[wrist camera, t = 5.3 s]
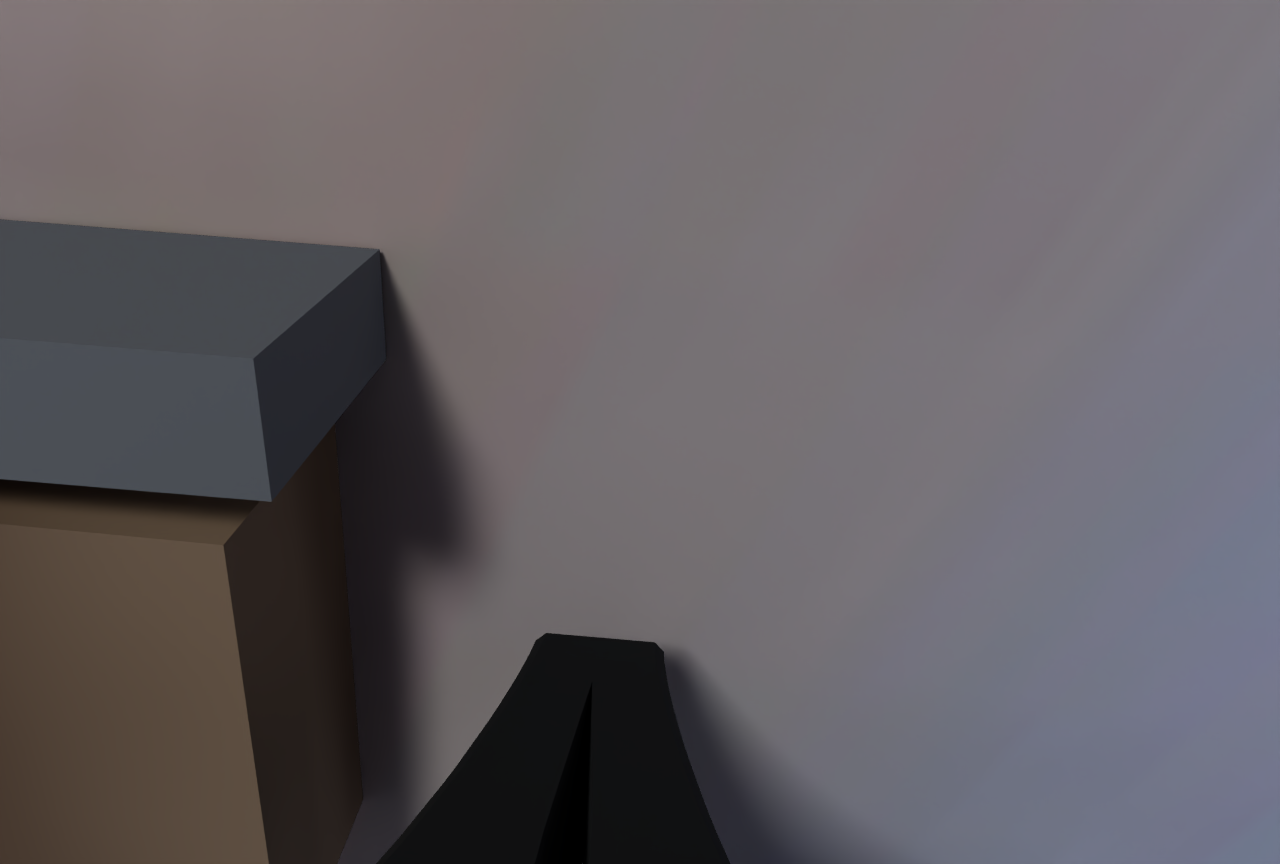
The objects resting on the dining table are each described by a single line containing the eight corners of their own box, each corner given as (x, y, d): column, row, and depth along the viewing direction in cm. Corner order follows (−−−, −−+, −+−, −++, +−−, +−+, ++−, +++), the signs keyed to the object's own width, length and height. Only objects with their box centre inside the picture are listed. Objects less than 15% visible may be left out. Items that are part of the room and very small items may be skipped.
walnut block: (343, 400, 11) (223, 544, 8) (369, 782, 13) (286, 989, 10) (-177, 351, 11) (-476, 478, 8) (-48, 743, 13) (-236, 938, 11)
